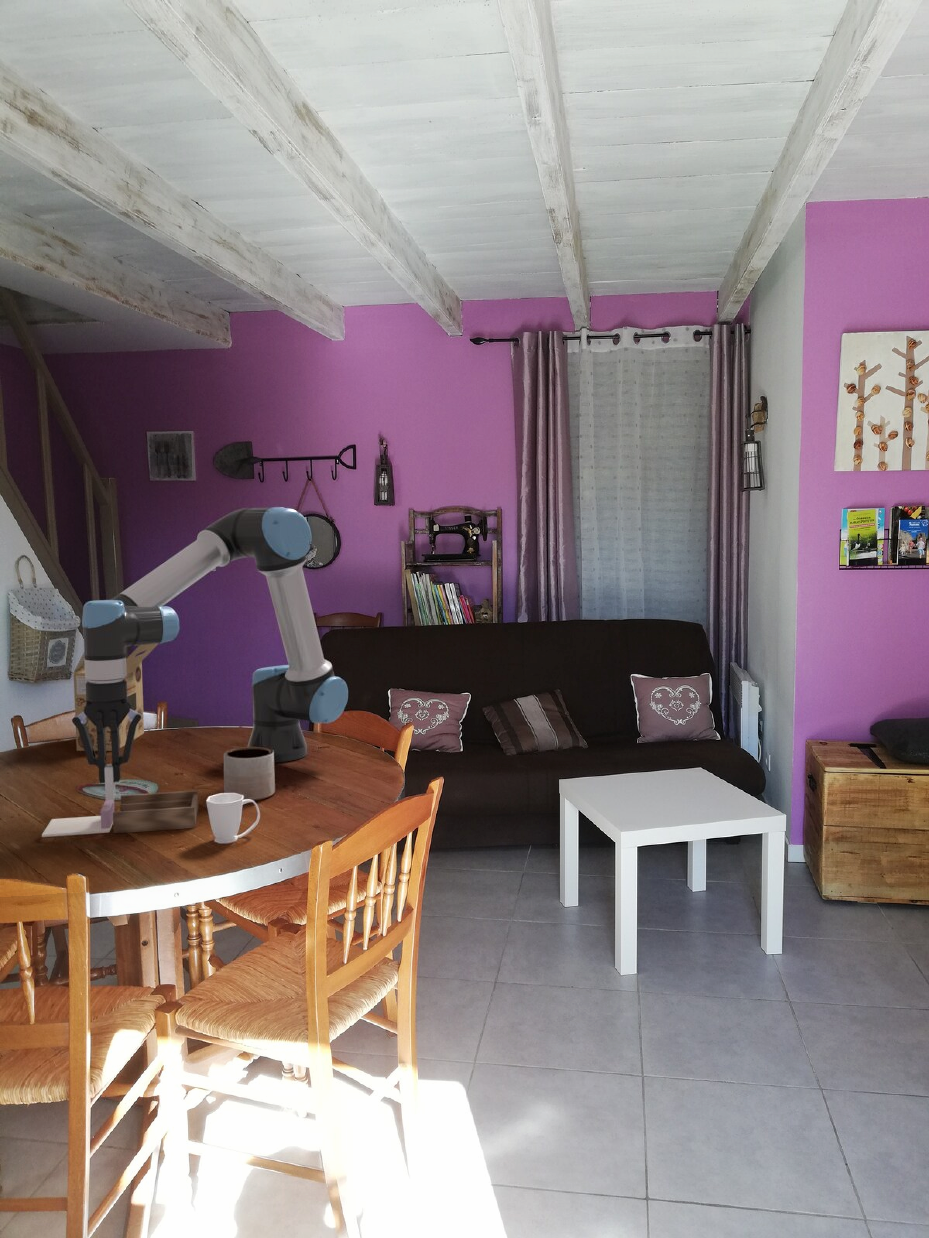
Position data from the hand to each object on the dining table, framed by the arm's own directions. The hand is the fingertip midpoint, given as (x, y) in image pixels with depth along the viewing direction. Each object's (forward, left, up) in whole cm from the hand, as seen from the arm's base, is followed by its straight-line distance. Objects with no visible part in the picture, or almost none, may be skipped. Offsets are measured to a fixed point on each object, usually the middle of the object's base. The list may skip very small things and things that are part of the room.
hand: (110, 797), depth 181 cm
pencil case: (-9, 0, -5) cm, 10 cm away
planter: (-27, -14, -6) cm, 31 cm away
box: (+7, -73, -6) cm, 74 cm away
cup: (-24, +14, -6) cm, 28 cm away
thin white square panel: (+6, 0, -6) cm, 8 cm away
